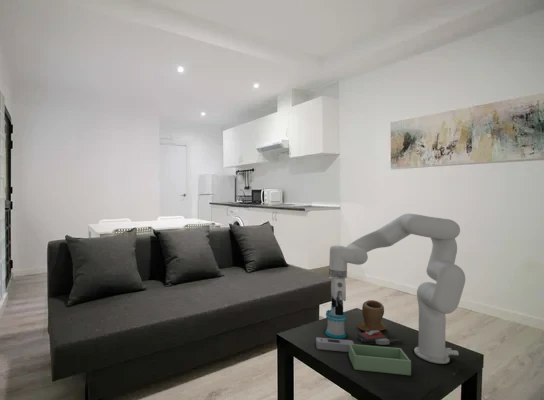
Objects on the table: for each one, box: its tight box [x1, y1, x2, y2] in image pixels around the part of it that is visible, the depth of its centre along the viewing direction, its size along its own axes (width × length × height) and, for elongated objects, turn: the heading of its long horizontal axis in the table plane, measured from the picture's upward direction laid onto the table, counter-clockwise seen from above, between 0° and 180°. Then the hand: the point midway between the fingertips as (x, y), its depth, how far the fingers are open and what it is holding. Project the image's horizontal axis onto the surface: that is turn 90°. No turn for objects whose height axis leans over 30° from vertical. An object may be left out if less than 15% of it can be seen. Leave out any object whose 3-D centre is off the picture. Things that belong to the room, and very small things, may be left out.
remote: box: [315, 336, 355, 353], centre depth 135 cm, size 16×5×3 cm, turn 79°
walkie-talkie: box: [357, 330, 404, 346], centre depth 141 cm, size 9×4×20 cm
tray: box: [348, 343, 412, 376], centre depth 121 cm, size 21×10×6 cm, turn 79°
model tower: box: [324, 294, 347, 340], centre depth 149 cm, size 10×10×30 cm
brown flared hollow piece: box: [356, 299, 388, 333], centre depth 153 cm, size 15×12×15 cm
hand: (337, 310), depth 134 cm, fingers open, 9 cm apart
